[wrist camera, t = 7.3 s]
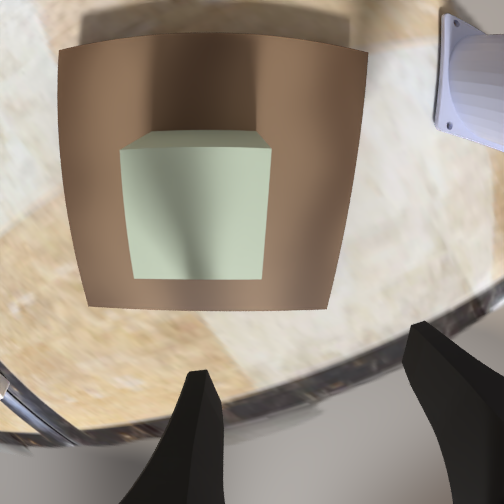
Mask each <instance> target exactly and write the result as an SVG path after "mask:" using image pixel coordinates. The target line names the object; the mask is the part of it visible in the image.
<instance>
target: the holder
mask: <svg viewBox="0 0 504 504" xmlns="http://www.w3.org/2000/svg"><path fill="white" fill-rule="evenodd" d="M9 384H10V382H9V381H8V380H7V379H6V378H5V377H4V376H2V375H1V374H0V399H2V398H3V397H4V395H5V393H6V391H7V388H8V386H9Z"/></svg>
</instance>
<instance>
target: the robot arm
mask: <svg viewBox="0 0 504 504" xmlns="http://www.w3.org/2000/svg"><path fill="white" fill-rule="evenodd" d="M454 22H455V24H456V26H455V25H454ZM447 123H449V126H448V128H447ZM435 127H436V128H437V130H439V131H442V132H446V133H449V134H452V135H456V136H459V137H462V138H465V139H468V140H471V141H474V142H477V143H480V144H483V145H486V146H488V147H491V148H494V149H496V150H499V151H502V152H504V34H502V35H501V34H493V35H487V34H485V33H483V32H482V31H480V30H478V29H477V28H475V27H473V26H472V25H470V24H468V23H466V22H464V21H463V20H461V19H459V18H457V17H455V16H453V15H451V14H449V13H447V14H443V15H442V18H441V60H440V76H439V88H438V98H437V107H436V115H435ZM402 364H403V366H404V369H405V372H406V375H407V377H408V380H409V382H410V385H411V387H412V389H413V391H414V393H415V394H416V396H417V398H418V400H419V402H420V404H421V406H422V408H423V410H424V412H425V414H426V416H427V418H428V420H429V422H430V424H431V426H432V427H433V430H434V432H435V434H436V437H437V440H438V442H439V445H440V448H441V451H442V455H443V458H444V462H445V465H446V469H447V473H448V477H449V482H450V487H451V492H452V499H453V504H504V376H502V375H500V374H499V373H497V372H495V371H494V370H492V369H491V368H489V367H488V366H486V365H485V364H483V363H481V362H480V361H478V360H477V359H475V358H474V357H473V356H471V355H470V354H469V353H467V352H466V351H465V350H463V349H462V348H460V347H459V346H458V345H457V344H455V343H454V342H453V341H451V340H450V339H449V338H447V337H446V336H445V335H443V334H442V333H441V332H439V331H438V330H437V329H436V328H434V327H433V326H432V325H430V324H429V323H427V322H426V321H423V322H419V323H416V324H413V325H411V328H410V332H409V336H408V340H407V344H406V348H405V352H404V356H403V359H402ZM223 449H224V425H223V414H222V405H221V400H220V398H219V396H218V394H217V391H216V389H215V387H214V385H213V382H212V380H211V378H210V375H209V373H208V371H207V370H199V371H191V372H189V373H188V374H187V377H186V380H185V383H184V386H183V388H182V391H181V394H180V396H179V399H178V402H177V404H176V407H175V409H174V411H173V414H172V416H171V418H170V420H169V423H168V425H167V427H166V429H165V432H164V434H163V435H162V437H161V439H160V441H159V443H158V445H157V447H156V449H155V451H154V453H153V455H152V457H151V458H150V460H149V462H148V463H147V465H146V467H145V469H144V470H143V471H142V473H141V475H140V476H139V478H138V479H137V481H136V482H135V483H134V485H133V486H132V488H131V489H130V490H129V492H128V493H127V494H126V496H125V497H124V498H123V499H122V500H121V502H120V503H119V504H225V501H224V491H223Z"/></svg>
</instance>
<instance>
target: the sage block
mask: <svg viewBox="0 0 504 504" xmlns="http://www.w3.org/2000/svg"><path fill="white" fill-rule="evenodd" d="M271 152H272V148H271V147H270V146H269V145H268V144H267V143H266V142H265V140H264V139H263V138H262V137H261V136H260V135H259V134H258V133H257V131H240V130H174V131H152V132H150V133H148V134H146V135H144V136H143V137H141V138H139V139H137V140H136V141H134V142H132V143H131V144H129V145H127V146H125V147H124V148H122V149H120V164H121V178H122V190H123V201H124V210H125V219H126V227H127V235H128V243H129V250H130V256H131V263H132V269H133V275H134V279H203V280H252V279H262V270H263V257H264V245H265V232H266V219H267V206H268V193H269V179H270V166H271Z"/></svg>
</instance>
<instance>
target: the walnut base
mask: <svg viewBox="0 0 504 504" xmlns="http://www.w3.org/2000/svg"><path fill="white" fill-rule="evenodd" d="M367 63H368V52H364V51H359V50H355V49H351V48H346V47H342V46H337V45H332V44H326V43H321V42H315V41H309V40H302V39H295V38H287V37H279V36H269V35H257V34H242V33H173V34H158V35H146V36H137V37H128V38H121V39H114V40H107V41H101V42H96V43H90V44H85V45H80V46H76V47H71V48H67V49H63V50H59V58H58V91H57V98H58V132H59V147H60V159H61V169H62V178H63V186H64V194H65V201H66V207H67V213H68V219H69V225H70V230H71V236H72V241H73V246H74V250H75V255H76V259H77V264H78V268H79V272H80V276H81V280H82V284H83V288H84V292H85V295H86V299H87V302H88V306H92V307H107V308H126V309H148V310H180V311H287V310H319V309H327V306H328V302H329V298H330V293H331V289H332V285H333V281H334V276H335V272H336V268H337V263H338V259H339V254H340V249H341V244H342V240H343V235H344V230H345V225H346V219H347V214H348V209H349V203H350V197H351V192H352V186H353V180H354V173H355V167H356V160H357V154H358V147H359V139H360V132H361V124H362V115H363V106H364V97H365V87H366V75H367ZM174 130H240V131H257V133H258V134H259V135H260V136H261V137H262V138H263V139H264V140H265V142H266V143H267V144H268V145H269V146H270V147H271V148H272V152H271V166H270V179H269V193H268V206H267V219H266V232H265V245H264V257H263V270H262V279H252V280H203V279H134V275H133V269H132V263H131V256H130V250H129V243H128V235H127V227H126V219H125V210H124V201H123V190H122V178H121V164H120V149H122V148H124V147H125V146H127V145H129V144H131V143H132V142H134V141H136V140H137V139H139V138H141V137H143V136H144V135H146V134H148V133H150V132H152V131H174Z"/></svg>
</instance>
